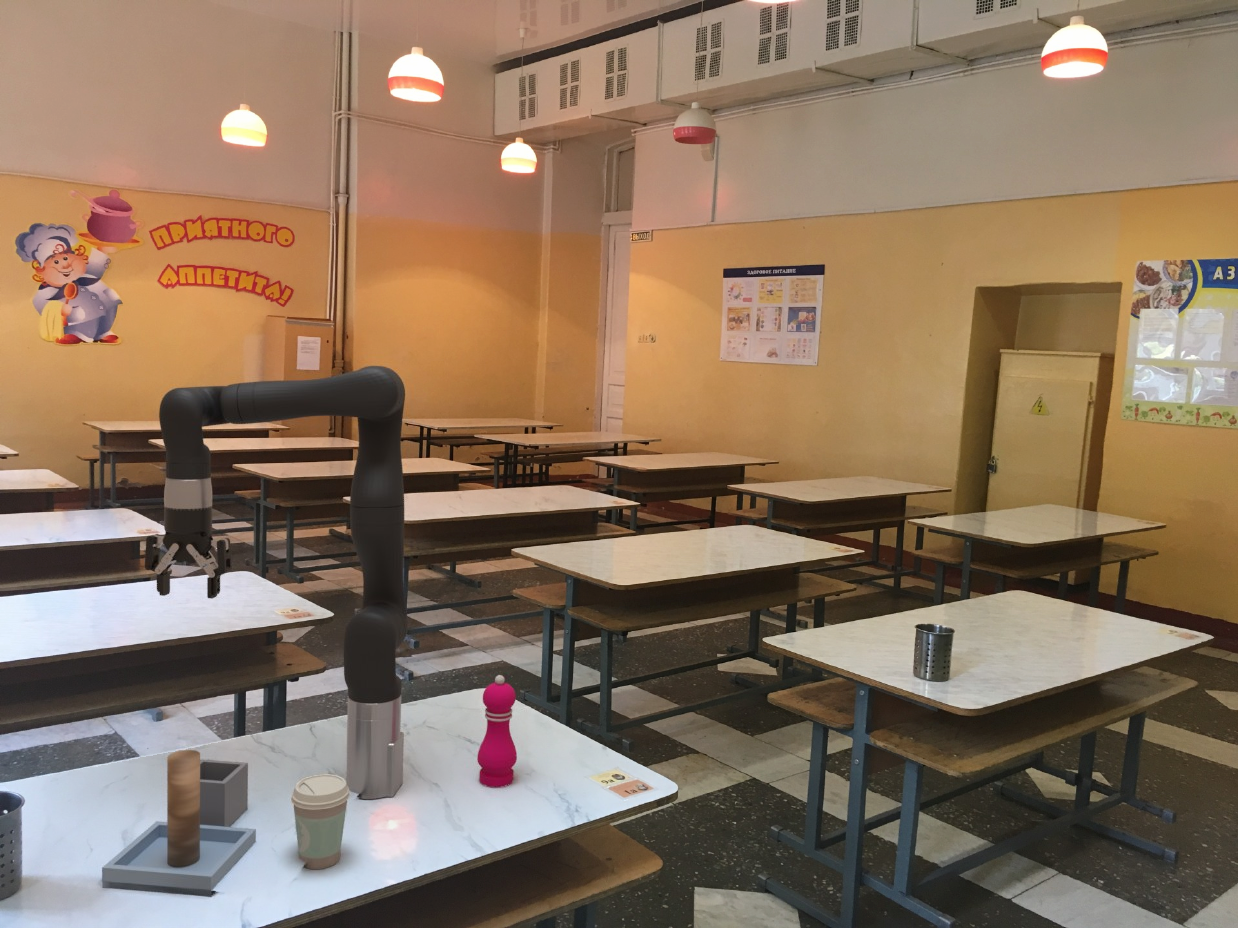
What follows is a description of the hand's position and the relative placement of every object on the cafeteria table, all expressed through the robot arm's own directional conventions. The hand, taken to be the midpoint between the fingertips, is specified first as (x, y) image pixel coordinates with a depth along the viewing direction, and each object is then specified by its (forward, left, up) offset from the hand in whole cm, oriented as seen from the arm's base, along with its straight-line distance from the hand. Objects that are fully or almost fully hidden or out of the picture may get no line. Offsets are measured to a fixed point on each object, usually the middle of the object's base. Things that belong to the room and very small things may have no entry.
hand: (188, 596), depth 165 cm
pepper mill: (-53, -11, -34) cm, 64 cm away
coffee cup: (-32, +21, -34) cm, 51 cm away
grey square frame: (-11, +13, -34) cm, 38 cm away
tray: (-13, +26, -34) cm, 45 cm away
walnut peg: (-13, +26, -33) cm, 44 cm away
